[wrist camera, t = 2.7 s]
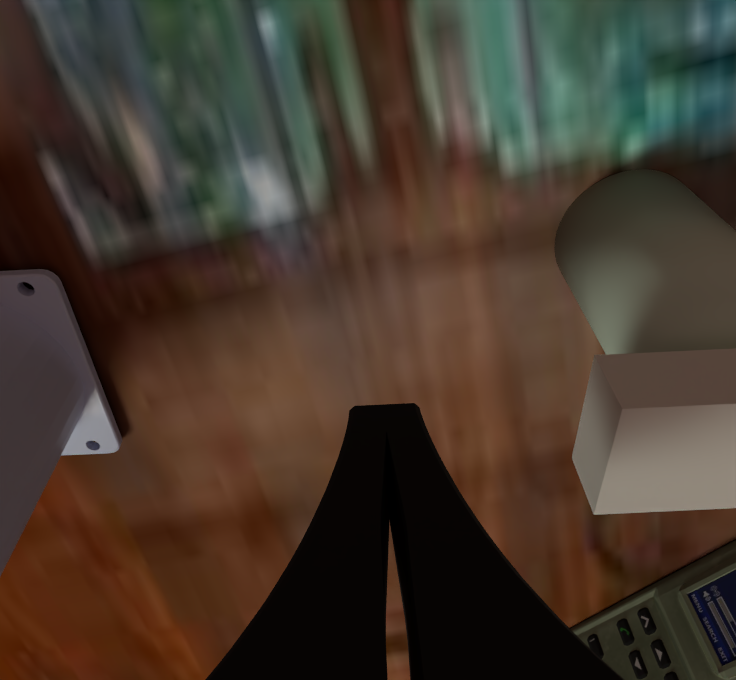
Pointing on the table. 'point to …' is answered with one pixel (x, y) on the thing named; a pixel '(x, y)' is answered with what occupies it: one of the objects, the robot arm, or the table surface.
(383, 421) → the robot arm
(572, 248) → the plug
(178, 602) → the table surface
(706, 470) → the pale grey rectangular box
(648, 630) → the handheld radio
